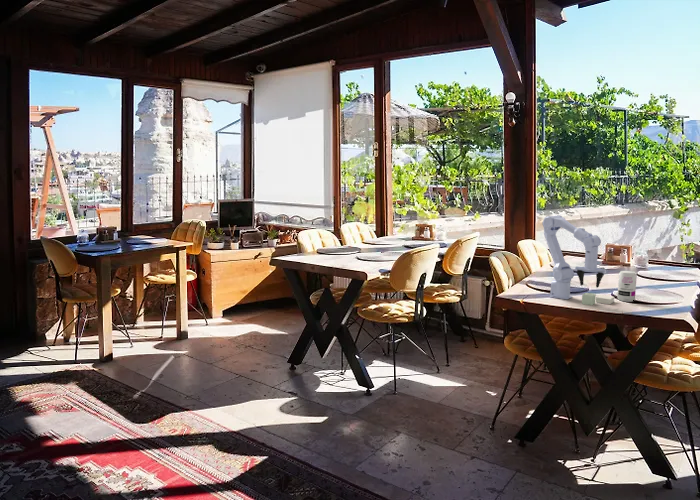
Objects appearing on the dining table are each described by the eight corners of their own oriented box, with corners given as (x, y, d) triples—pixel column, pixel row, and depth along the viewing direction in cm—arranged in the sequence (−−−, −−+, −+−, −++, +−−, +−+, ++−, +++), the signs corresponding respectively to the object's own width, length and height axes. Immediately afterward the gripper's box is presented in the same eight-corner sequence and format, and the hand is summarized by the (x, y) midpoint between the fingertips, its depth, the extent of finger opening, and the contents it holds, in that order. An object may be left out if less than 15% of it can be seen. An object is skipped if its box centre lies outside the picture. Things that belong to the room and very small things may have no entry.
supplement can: (629, 298, 303) (631, 270, 300) (637, 302, 295) (639, 273, 292) (614, 298, 303) (616, 270, 300) (622, 302, 294) (624, 273, 292)
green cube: (581, 304, 292) (582, 294, 291) (585, 302, 296) (585, 292, 295) (592, 305, 289) (592, 295, 288) (595, 303, 293) (595, 294, 292)
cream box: (595, 303, 295) (596, 297, 294) (599, 300, 300) (599, 294, 300) (610, 305, 291) (610, 299, 290) (613, 302, 296) (614, 296, 296)
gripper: (573, 259, 290) (572, 285, 292) (603, 262, 281) (602, 289, 283) (578, 257, 296) (577, 283, 298) (608, 260, 287) (606, 286, 289)
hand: (589, 286), depth 291 cm, fingers open, 7 cm apart
